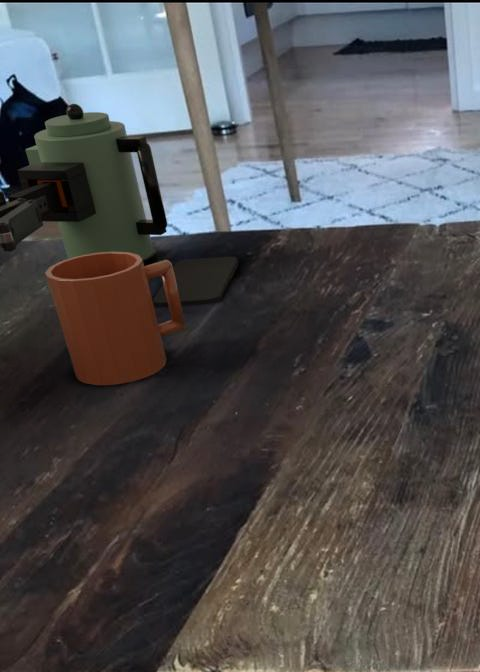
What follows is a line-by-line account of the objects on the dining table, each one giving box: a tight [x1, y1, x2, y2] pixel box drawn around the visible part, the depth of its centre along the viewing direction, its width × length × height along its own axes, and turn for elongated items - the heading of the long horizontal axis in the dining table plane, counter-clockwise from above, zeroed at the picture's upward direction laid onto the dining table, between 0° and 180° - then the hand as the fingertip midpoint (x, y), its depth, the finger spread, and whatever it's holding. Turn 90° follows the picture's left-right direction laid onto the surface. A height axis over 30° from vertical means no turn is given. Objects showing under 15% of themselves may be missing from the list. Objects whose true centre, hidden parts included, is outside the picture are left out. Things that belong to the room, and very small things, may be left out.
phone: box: [152, 256, 239, 307], centre depth 126 cm, size 7×1×15 cm
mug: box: [45, 252, 186, 386], centre depth 104 cm, size 12×8×10 cm
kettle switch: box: [37, 180, 67, 207], centre depth 125 cm, size 4×2×3 cm, turn 73°
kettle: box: [17, 103, 168, 266], centre depth 129 cm, size 16×14×18 cm
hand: (53, 194), depth 124 cm, fingers closed
